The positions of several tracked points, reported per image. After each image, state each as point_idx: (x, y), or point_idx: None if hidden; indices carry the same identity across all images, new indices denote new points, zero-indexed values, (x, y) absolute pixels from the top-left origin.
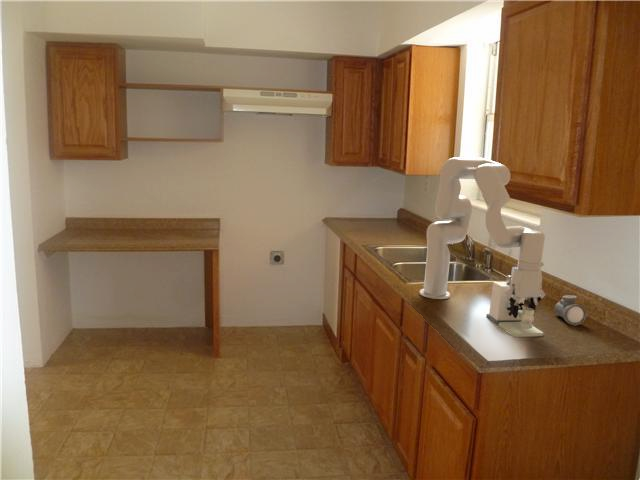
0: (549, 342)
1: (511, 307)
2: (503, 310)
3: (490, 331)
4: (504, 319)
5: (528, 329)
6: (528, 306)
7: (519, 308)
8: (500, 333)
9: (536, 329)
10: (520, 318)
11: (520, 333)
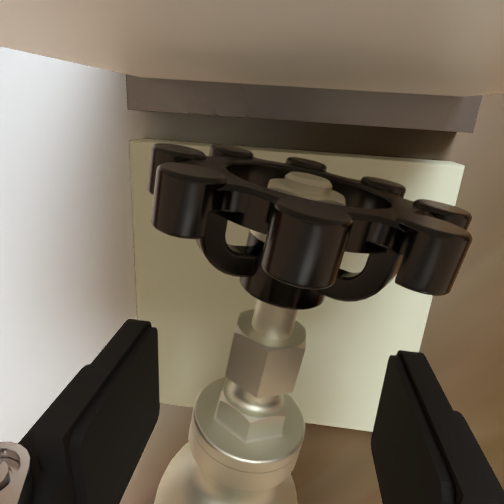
0: (341, 499)
1: (48, 414)
2: (162, 69)
3: (9, 256)
4: (227, 83)
5: (315, 354)
6: (419, 434)
7: (303, 298)
8: (73, 306)
9: None
10: (450, 96)
11: (184, 406)
